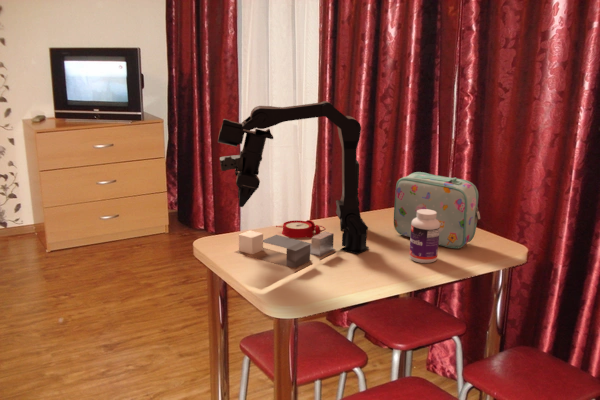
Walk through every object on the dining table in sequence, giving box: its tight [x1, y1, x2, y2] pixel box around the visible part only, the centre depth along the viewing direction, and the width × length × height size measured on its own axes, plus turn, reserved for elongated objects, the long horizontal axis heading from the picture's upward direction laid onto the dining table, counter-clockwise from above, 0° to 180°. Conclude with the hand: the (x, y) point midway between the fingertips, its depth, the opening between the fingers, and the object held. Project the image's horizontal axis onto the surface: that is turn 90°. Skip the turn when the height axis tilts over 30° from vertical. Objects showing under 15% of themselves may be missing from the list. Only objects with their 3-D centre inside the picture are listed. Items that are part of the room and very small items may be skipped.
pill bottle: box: [408, 209, 440, 264], centre depth 181 cm, size 8×8×14 cm
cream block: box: [238, 229, 264, 254], centre depth 184 cm, size 5×5×5 cm
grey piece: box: [263, 230, 336, 261], centre depth 189 cm, size 22×8×6 cm, turn 54°
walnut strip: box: [234, 241, 313, 273], centre depth 180 cm, size 22×8×6 cm, turn 54°
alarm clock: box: [275, 219, 326, 239], centre depth 201 cm, size 10×6×15 cm
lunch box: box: [393, 171, 481, 249], centre depth 197 cm, size 27×10×21 cm, turn 50°
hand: (240, 202), depth 182 cm, fingers open, 9 cm apart
